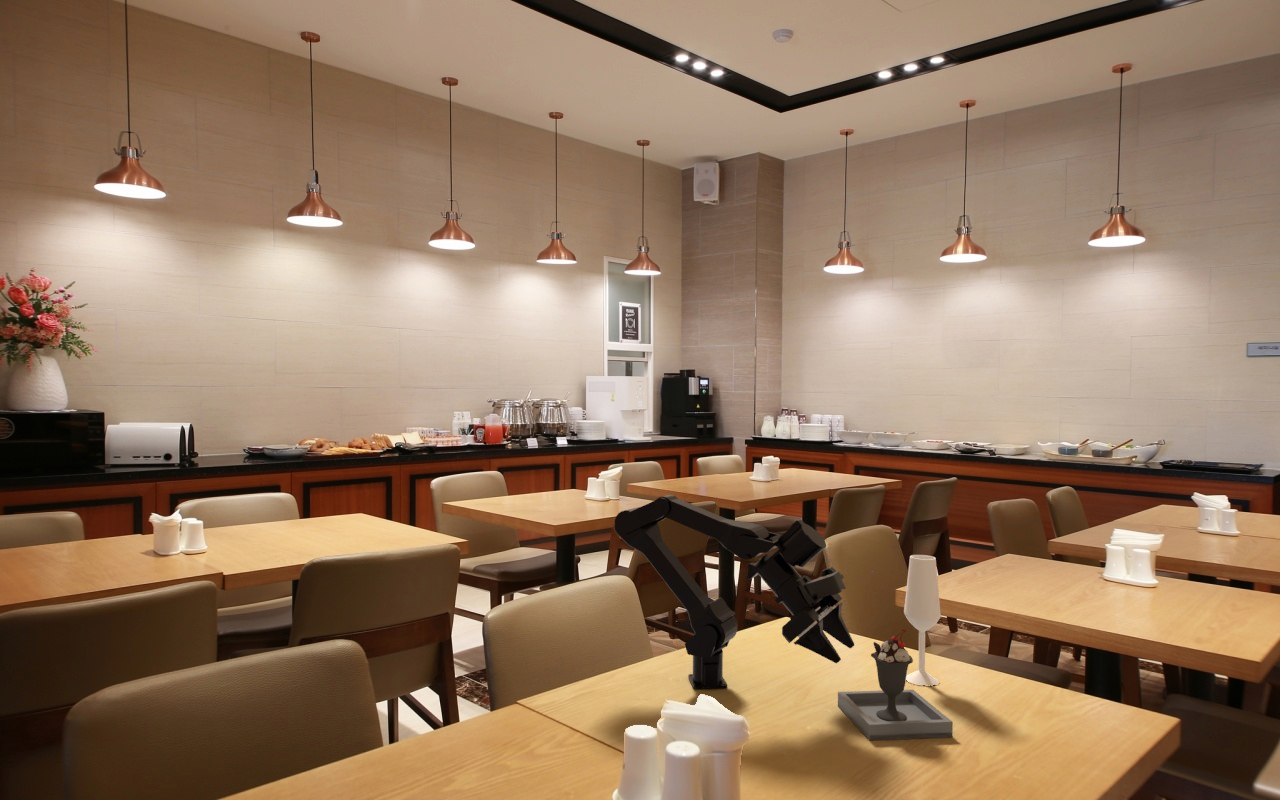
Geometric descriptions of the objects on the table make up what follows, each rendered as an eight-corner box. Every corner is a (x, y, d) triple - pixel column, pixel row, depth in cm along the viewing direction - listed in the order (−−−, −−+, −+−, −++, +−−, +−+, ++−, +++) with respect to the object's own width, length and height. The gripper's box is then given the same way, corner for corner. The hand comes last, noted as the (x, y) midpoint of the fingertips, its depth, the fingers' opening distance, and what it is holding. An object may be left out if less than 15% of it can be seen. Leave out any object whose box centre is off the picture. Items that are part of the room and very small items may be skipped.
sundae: (920, 721, 130) (921, 632, 130) (886, 726, 128) (886, 635, 128) (897, 706, 136) (897, 621, 136) (863, 710, 134) (864, 624, 134)
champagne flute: (902, 683, 149) (903, 559, 149) (904, 672, 156) (905, 552, 156) (939, 688, 147) (940, 562, 147) (940, 677, 153) (941, 555, 153)
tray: (837, 705, 138) (837, 691, 138) (913, 703, 140) (913, 689, 140) (869, 740, 124) (869, 724, 124) (952, 737, 126) (952, 721, 126)
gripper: (800, 564, 130) (866, 641, 125) (831, 546, 147) (891, 613, 141) (756, 604, 134) (818, 680, 129) (790, 583, 150) (847, 649, 145)
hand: (845, 653), depth 136 cm, fingers open, 9 cm apart
